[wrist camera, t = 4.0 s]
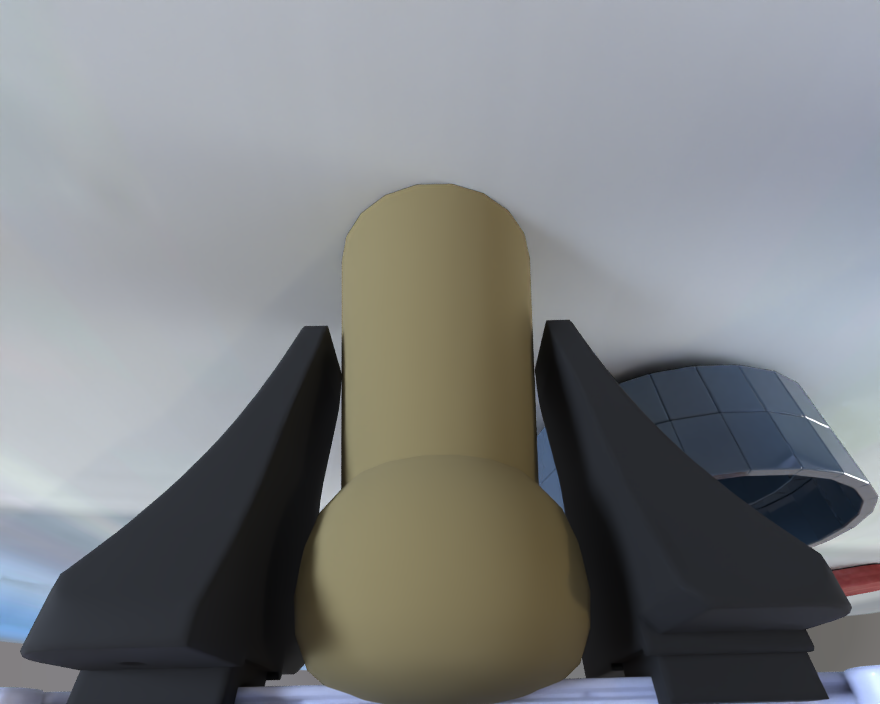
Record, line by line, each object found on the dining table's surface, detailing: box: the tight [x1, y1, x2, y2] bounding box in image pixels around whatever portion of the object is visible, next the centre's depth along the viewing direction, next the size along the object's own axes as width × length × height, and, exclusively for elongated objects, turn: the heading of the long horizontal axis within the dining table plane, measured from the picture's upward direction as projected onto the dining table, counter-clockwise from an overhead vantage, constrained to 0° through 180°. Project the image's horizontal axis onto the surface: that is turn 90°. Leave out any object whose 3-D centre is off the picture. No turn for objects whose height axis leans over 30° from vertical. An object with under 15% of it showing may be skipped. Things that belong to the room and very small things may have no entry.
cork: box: [294, 184, 590, 704], centre depth 11 cm, size 6×6×11 cm
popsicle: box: [832, 564, 880, 596], centre depth 43 cm, size 4×2×15 cm
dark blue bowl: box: [537, 365, 879, 547], centre depth 21 cm, size 13×13×5 cm
